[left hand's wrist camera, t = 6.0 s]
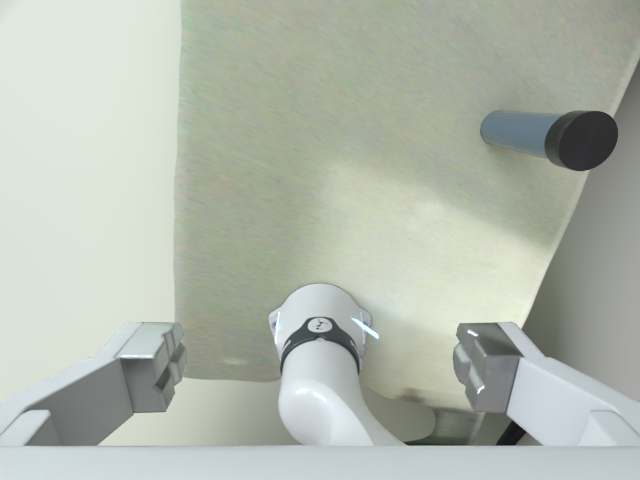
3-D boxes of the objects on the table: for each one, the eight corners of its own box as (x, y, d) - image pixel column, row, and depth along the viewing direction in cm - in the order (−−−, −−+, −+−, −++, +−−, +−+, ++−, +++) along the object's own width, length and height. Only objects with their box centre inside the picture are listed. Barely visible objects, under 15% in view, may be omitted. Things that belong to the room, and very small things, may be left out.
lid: (583, 172, 39) (599, 176, 37) (534, 160, 39) (547, 163, 37) (610, 118, 37) (629, 119, 35) (559, 104, 37) (575, 104, 35)
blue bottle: (505, 148, 55) (594, 171, 37) (475, 140, 55) (551, 160, 37) (518, 115, 54) (619, 122, 36) (487, 107, 53) (574, 110, 35)
